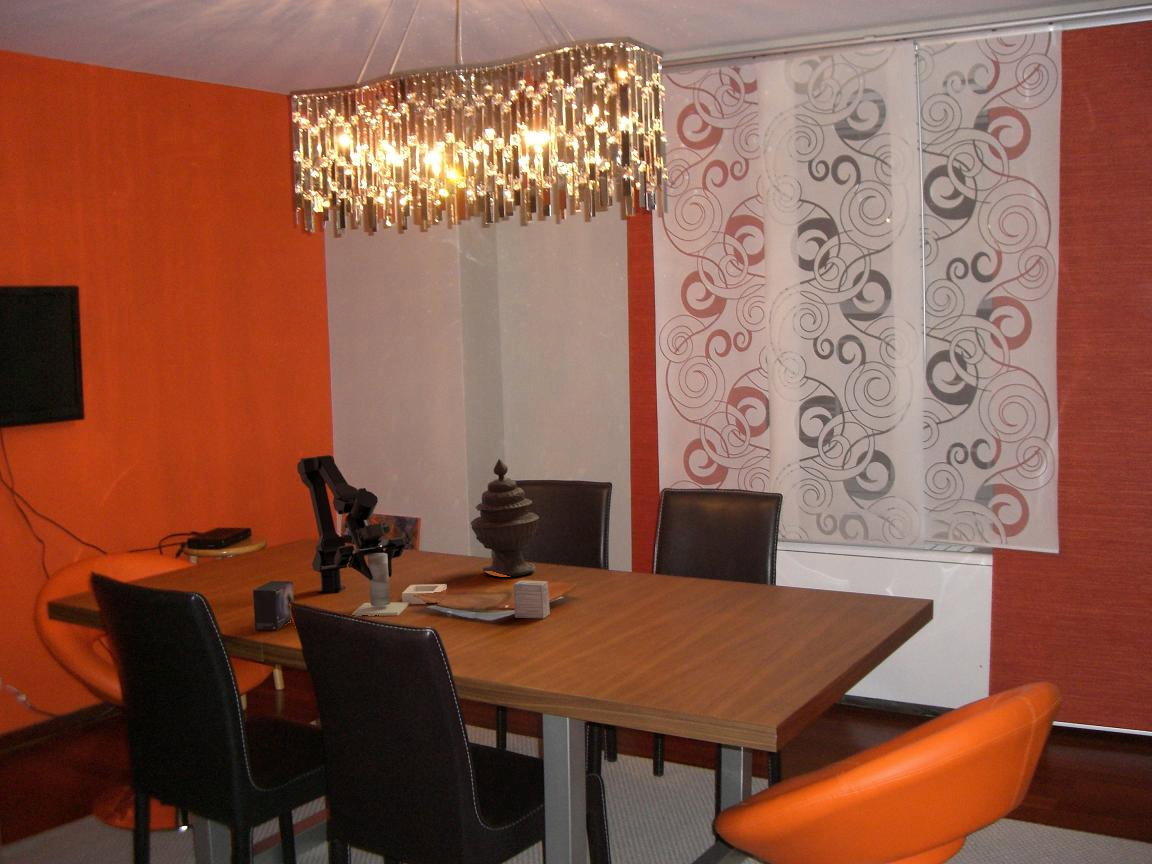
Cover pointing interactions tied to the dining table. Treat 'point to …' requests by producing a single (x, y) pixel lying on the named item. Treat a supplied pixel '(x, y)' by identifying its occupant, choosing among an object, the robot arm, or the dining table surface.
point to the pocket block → (420, 592)
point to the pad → (381, 609)
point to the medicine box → (531, 599)
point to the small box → (272, 605)
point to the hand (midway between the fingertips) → (381, 577)
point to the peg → (379, 579)
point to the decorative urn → (505, 524)
